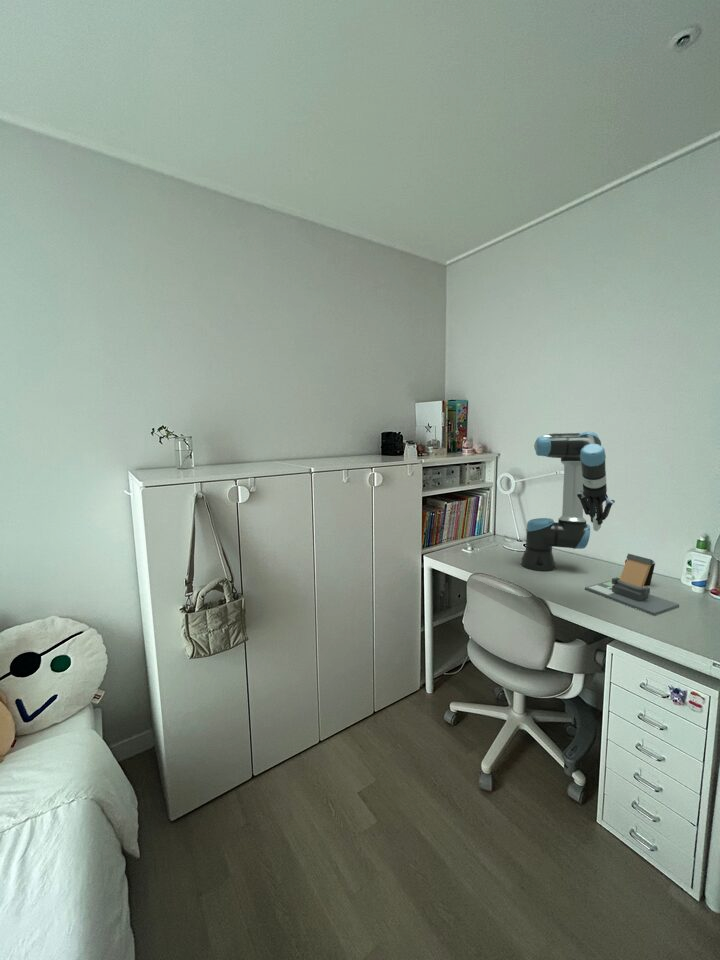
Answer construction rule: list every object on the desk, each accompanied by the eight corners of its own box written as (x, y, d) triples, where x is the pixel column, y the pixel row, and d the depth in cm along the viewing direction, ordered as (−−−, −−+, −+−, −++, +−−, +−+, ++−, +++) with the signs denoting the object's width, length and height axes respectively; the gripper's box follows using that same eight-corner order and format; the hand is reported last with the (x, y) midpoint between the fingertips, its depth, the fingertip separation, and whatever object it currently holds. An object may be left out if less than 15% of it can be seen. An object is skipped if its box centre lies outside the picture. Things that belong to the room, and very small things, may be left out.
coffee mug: (657, 587, 162) (659, 564, 161) (634, 586, 164) (636, 563, 163) (643, 577, 173) (645, 555, 172) (622, 576, 175) (623, 554, 174)
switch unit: (584, 589, 161) (585, 575, 160) (608, 582, 168) (609, 569, 167) (654, 615, 138) (655, 599, 137) (679, 606, 144) (680, 591, 144)
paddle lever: (616, 582, 155) (627, 553, 157) (619, 584, 156) (630, 554, 158) (640, 590, 147) (651, 559, 148) (643, 592, 148) (654, 561, 149)
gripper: (571, 484, 147) (575, 528, 159) (607, 493, 137) (609, 540, 149) (582, 473, 150) (585, 517, 162) (618, 481, 139) (619, 528, 151)
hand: (597, 528), depth 155 cm, fingers closed
